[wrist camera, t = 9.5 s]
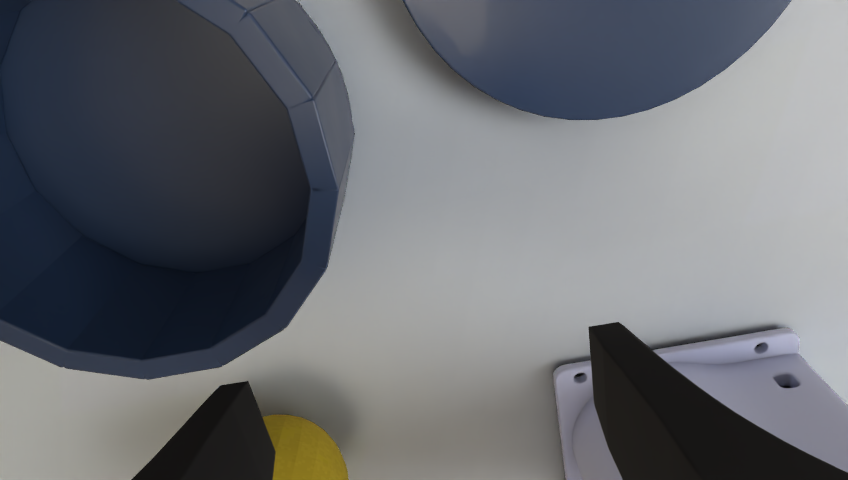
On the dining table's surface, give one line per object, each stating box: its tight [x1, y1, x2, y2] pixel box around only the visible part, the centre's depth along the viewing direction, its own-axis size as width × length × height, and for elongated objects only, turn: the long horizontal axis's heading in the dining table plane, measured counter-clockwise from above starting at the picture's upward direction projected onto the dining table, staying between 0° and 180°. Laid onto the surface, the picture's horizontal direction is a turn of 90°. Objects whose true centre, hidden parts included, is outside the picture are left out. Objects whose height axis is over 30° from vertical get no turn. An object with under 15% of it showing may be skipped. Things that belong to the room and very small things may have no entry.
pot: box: [0, 0, 355, 380], centre depth 17 cm, size 11×11×6 cm
